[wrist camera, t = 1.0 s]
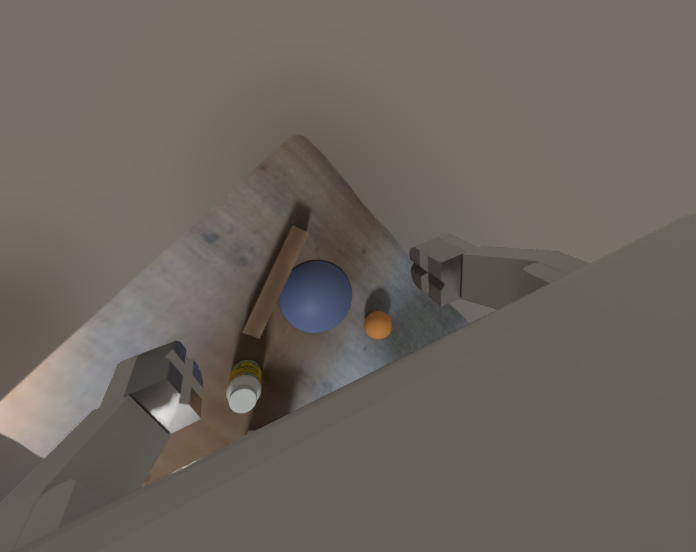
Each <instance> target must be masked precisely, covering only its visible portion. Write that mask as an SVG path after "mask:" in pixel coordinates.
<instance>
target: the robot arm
mask: <svg viewBox="0 0 696 552" xmlns="http://www.w3.org/2000/svg"><path fill="white" fill-rule="evenodd" d="M410 259H411V260H412V261H413V262H414V263H413V265H412V267H411V276H412V279H413V281H414V283H415V285H416V286H417V287H418V288H419V289H420V290H421V291H425V292H429V297H430V298H431V299H433V300H434V301H435V302H436V303H438V304H439V305H440V306H443V305H446V304H448V303H450V302H452V301H455V300H457V299H459V298H461V299H463V300H467V301H470V302H474V303H477V304H480V305H484V306H487V307H490V308H494V309H497V310H496V311H494V312H492V313H490V314H488V315H486V316H484V317H482V318H480V319H478V320H476V321H474V322H472V323H470V324H468V325H466V326H464V327H462V328H460V329H458V330H456V331H454V332H452V333H450V334H448V335H446V336H444V337H442V338H440V339H438V340H436V341H434V342H432V343H430V344H428V345H426V346H424V347H422V348H420V349H418V350H416V351H414V352H412V353H410V354H408V355H406V356H404V357H402V358H400V359H398V360H396V361H394V362H392V363H390V364H388V365H386V366H384V367H382V368H380V369H378V370H376V371H374V372H372V373H370V374H368V375H366V376H364V377H362V378H360V379H358V380H356V381H353V382H351V383H349V384H347V385H345V386H343V387H341V388H339V389H337V390H335V391H333V392H331V393H329V394H327V395H325V396H323V397H321V398H319V399H317V400H315V401H313V402H311V403H309V404H307V405H305V406H303V407H301V408H299V409H297V410H295V411H293V412H291V413H289V414H287V415H285V416H283V417H281V418H279V419H278V420H276V421H274V422H272V423H270V424H268V425H266V426H264V427H262V428H260V429H258V430H256V431H254V432H252V433H250V434H248V435H246V436H244V437H242V438H240V439H238V440H236V441H234V442H232V443H230V444H228V445H226V446H224V447H222V448H220V449H218V450H216V451H214V452H212V453H210V454H208V455H206V456H204V457H202V458H200V459H198V460H196V461H194V462H192V463H190V464H188V465H186V466H184V467H182V468H180V469H177V470H175V471H173V472H171V473H169V474H167V475H165V476H163V477H161V478H159V479H157V480H155V481H153V482H151V483H149V484H147V485H145V486H143V487H141V486H142V485H143V483H144V481H145V479H146V477H147V476H148V474H149V472H150V470H151V469H152V467H153V465H154V463H155V462H156V460H157V458H158V456H159V455H160V453H161V451H162V449H163V448H164V446H165V444H166V442H167V440H168V439H169V437H170V435H169V434H171V433H173V432H175V431H177V430H179V429H181V428H183V427H185V426H187V425H189V424H191V423H193V422H195V421H197V420H199V419H201V407H202V399H201V398H200V397H199V395H198V394H199V392H200V391H201V389H202V388H203V380H202V375H201V371H200V369H199V367H198V365H197V364H196V362H195V361H194V359H190V358H187V357H186V349H185V347H184V346H183V345H182V344H181V342H179V341H174V342H171V343H169V344H166V345H163V346H161V347H158V348H155V349H153V350H150V351H147V352H145V353H142V354H140V355H136V356H134V357H131V358H129V359H126V360H124V361H122V362H120V363H119V364H118V365H117V367H116V370H115V372H114V375H113V377H112V379H111V382H110V384H109V386H108V389H107V391H106V394H105V396H104V398H103V401H102V403H101V406H100V408H98V409H95V410H93V411H92V412H91V413H90V414H89V415H88V416H87V417H86V418H85V419H84V420H83V421H82V422H81V423H80V424H79V425H78V426H77V427H76V428H75V429H74V430H73V431H72V432H71V433H70V434H69V435H68V436H67V437H66V438H65V439H64V440H63V441H62V442H61V443H60V444H59V445H58V446H57V447H56V448H55V449H54V450H53V451H52V452H51V453H50V454H49V455H48V456H47V457H46V458H45V459H44V460H43V461H42V462H41V463H40V464H39V465H38V466H37V467H36V468H35V469H34V470H33V471H32V472H31V473H30V474H29V475H28V476H27V477H26V478H25V479H24V480H23V481H22V482H21V483H20V484H19V485H18V486H16V487H15V488H14V489H13V490H12V492H10V493H9V494H8V495H7V496H6V498H4V499H3V501H1V502H0V552H696V213H695V214H690V215H687V216H684V217H681V218H679V219H677V220H675V221H673V222H671V223H669V224H668V225H666V226H664V227H662V228H660V229H658V230H656V231H654V232H652V233H650V234H648V235H646V236H644V237H642V238H640V239H638V240H636V241H634V242H632V243H630V244H628V245H626V246H624V247H622V248H620V249H618V250H616V251H614V252H612V253H610V254H608V255H606V256H604V257H602V258H600V259H598V260H596V261H594V262H592V263H588V262H585V261H582V260H580V259H577V258H574V257H572V256H569V255H566V254H563V253H561V252H558V251H548V250H533V249H519V248H504V247H490V246H481V247H476V246H474V245H472V244H470V243H468V242H466V241H463V240H461V239H459V238H457V237H454V236H452V235H450V234H443V235H441V236H439V237H436V238H434V239H432V240H429V241H427V242H425V243H423V244H420V245H418V246H416V247H413V248H411V249H410Z"/></svg>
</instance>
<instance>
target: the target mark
mask: <svg viewBox="0 0 696 552" xmlns="http://www.w3.org/2000/svg"><path fill="white" fill-rule="evenodd" d="M279 299H280V307H281V310H282V313H283V315H284V316H285V318H286V319H287V321H288V322H289V323H290V324H291V325H293V326H294V327H296V328H297V329H299V330H301V331H305V332H310V333H319V332H324V331H327V330H329V329H331V328H333V327H335V326H336V325H338V324H339V323H340V322H341V321H342V320H343V319H344V317H345V316H346V314H347V312H348V310H349V308H350V305H351V299H352V291H351V286H350V283H349V281H348V279H347V277H346V275H345V274H344V273H343V272H342V271H341V270H340V269H339V268H338V267H336V266H334V265H333V264H330V263H328V262H324V261H311V262H306V263H303V264H301V265H299V266H298V267H296V268H295V269H293V270H292V271H291V273H290V275H289V277H288V279H287V281H286V283H285V286H284V288H283V290H282V292H281V294H280V296H279Z"/></svg>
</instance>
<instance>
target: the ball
mask: <svg viewBox="0 0 696 552" xmlns="http://www.w3.org/2000/svg"><path fill="white" fill-rule="evenodd" d="M364 328H365V331H366V333H367V334H368V335H369V336H370V337H372V338H374V339H383V338H385V337H387V336H388V335H389V334H390V332H391V330H392V321H391V319H390V317H389V316H388V315H387V314H386V313H384V312H382V311H374V312H372V313H370V314H369V315H368V316H367V317H366V319H365V322H364Z"/></svg>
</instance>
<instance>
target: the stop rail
mask: <svg viewBox="0 0 696 552" xmlns="http://www.w3.org/2000/svg"><path fill="white" fill-rule="evenodd" d="M308 234H309V233H308V232H306V231H304V230H302V229H300V228H298V227H296V226H294V225H292V226H291V227H290V229H289V231H288V234H287V236H286V238H285V240H284V242H283V244H282V246H281V248H280V251H279V253H278V255H277V257H276V259H275V261H274V263H273V265H272V268H271V270H270V272H269V274H268V276H267V278H266V280H265V282H264V285H263V287H262V289H261V291H260V293H259V295H258V297H257V300H256V302H255V304H254V306H253V308H252V310H251V312H250V314H249V317H248V319H247V321H246V323H245V325H244V328H243V332H242V333H244V334H246V335H249V336H252V337H255V338H258V339H260V337H261V335H262V332H263V330H264V328H265V326H266V324H267V322H268V320H269V318H270V315H271V313H272V311H273V309H274V307H275V305H276V303H277V300H278V298H279V296H280V294H281V292H282V290H283V288H284V286H285V283H286V281H287V279H288V277H289V275H290V273H291V271H292V268H293V266H294V264H295V262H296V260H297V258H298V256H299V254H300V251H301V249H302V247H303V245H304V243H305V241H306V239H307V236H308Z"/></svg>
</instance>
